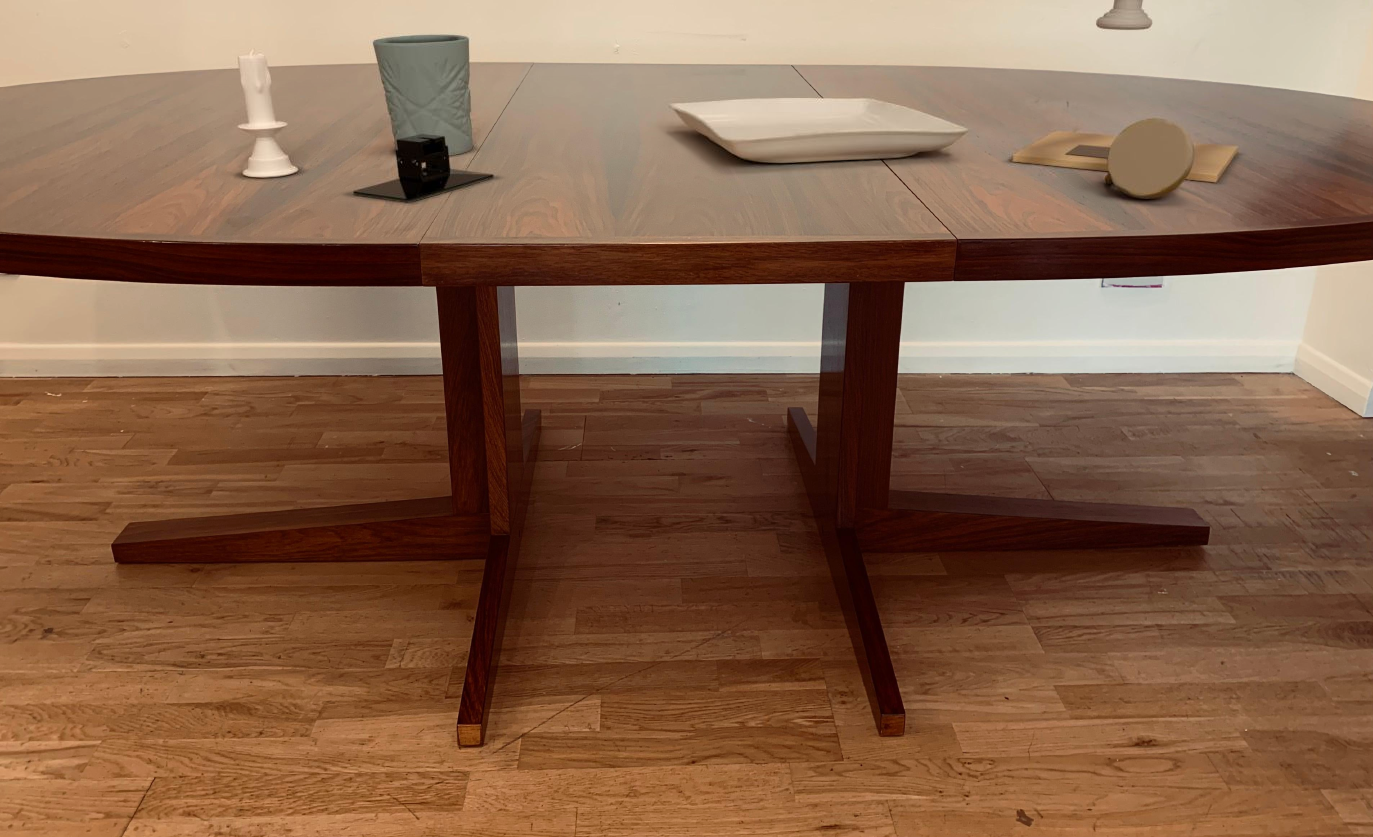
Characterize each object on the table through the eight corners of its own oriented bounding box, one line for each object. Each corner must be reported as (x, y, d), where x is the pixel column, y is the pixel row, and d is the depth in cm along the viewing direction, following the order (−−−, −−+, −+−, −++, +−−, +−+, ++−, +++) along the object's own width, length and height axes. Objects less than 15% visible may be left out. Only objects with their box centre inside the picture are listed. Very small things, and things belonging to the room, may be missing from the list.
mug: (1196, 187, 98) (1231, 102, 90) (1151, 248, 94) (1183, 165, 86) (1123, 159, 101) (1150, 75, 93) (1076, 217, 98) (1100, 134, 89)
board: (1236, 153, 113) (1238, 145, 113) (1216, 182, 99) (1218, 173, 99) (1053, 137, 123) (1055, 129, 122) (1012, 161, 109) (1013, 153, 109)
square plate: (970, 162, 109) (974, 125, 107) (725, 174, 103) (725, 135, 101) (869, 123, 133) (872, 92, 131) (666, 131, 127) (666, 99, 125)
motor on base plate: (409, 204, 92) (402, 152, 90) (350, 195, 95) (342, 145, 93) (494, 177, 102) (490, 130, 100) (438, 170, 105) (433, 124, 103)
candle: (300, 166, 107) (281, 45, 102) (295, 176, 102) (275, 50, 97) (246, 168, 106) (224, 47, 100) (239, 179, 101) (215, 52, 96)
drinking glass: (496, 149, 116) (487, 37, 111) (423, 162, 109) (410, 43, 104) (441, 139, 122) (430, 32, 117) (368, 151, 115) (353, 38, 110)
